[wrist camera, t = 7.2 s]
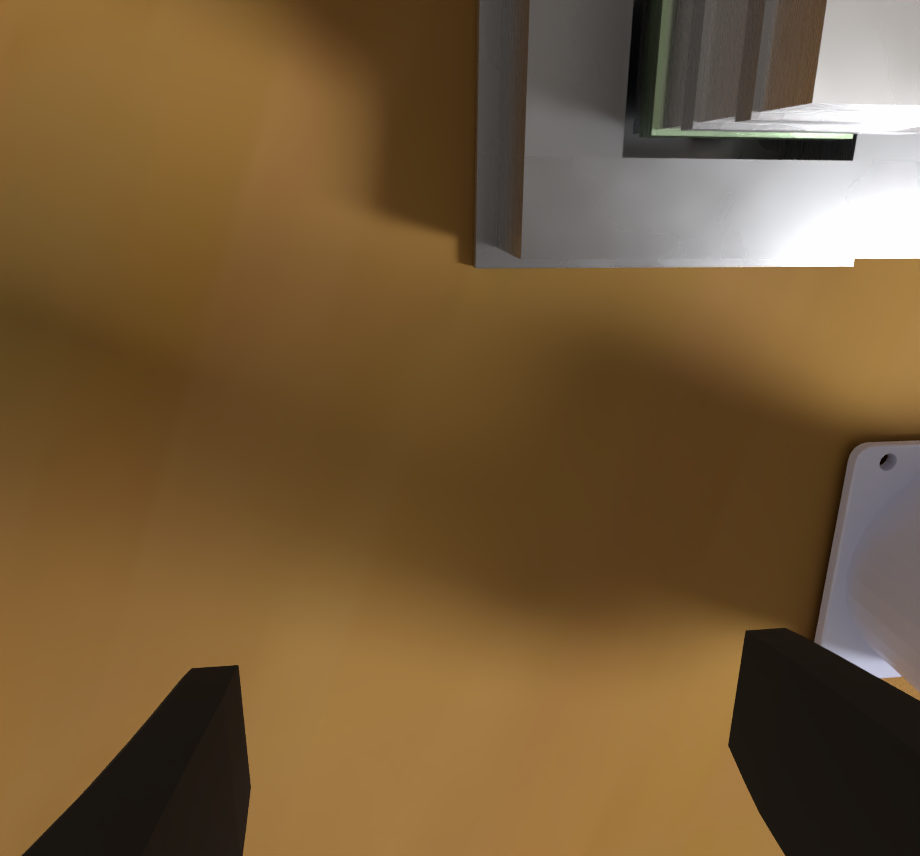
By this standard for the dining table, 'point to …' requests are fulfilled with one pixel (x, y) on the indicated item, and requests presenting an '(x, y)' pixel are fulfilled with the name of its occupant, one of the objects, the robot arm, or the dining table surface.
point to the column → (778, 69)
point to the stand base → (656, 164)
